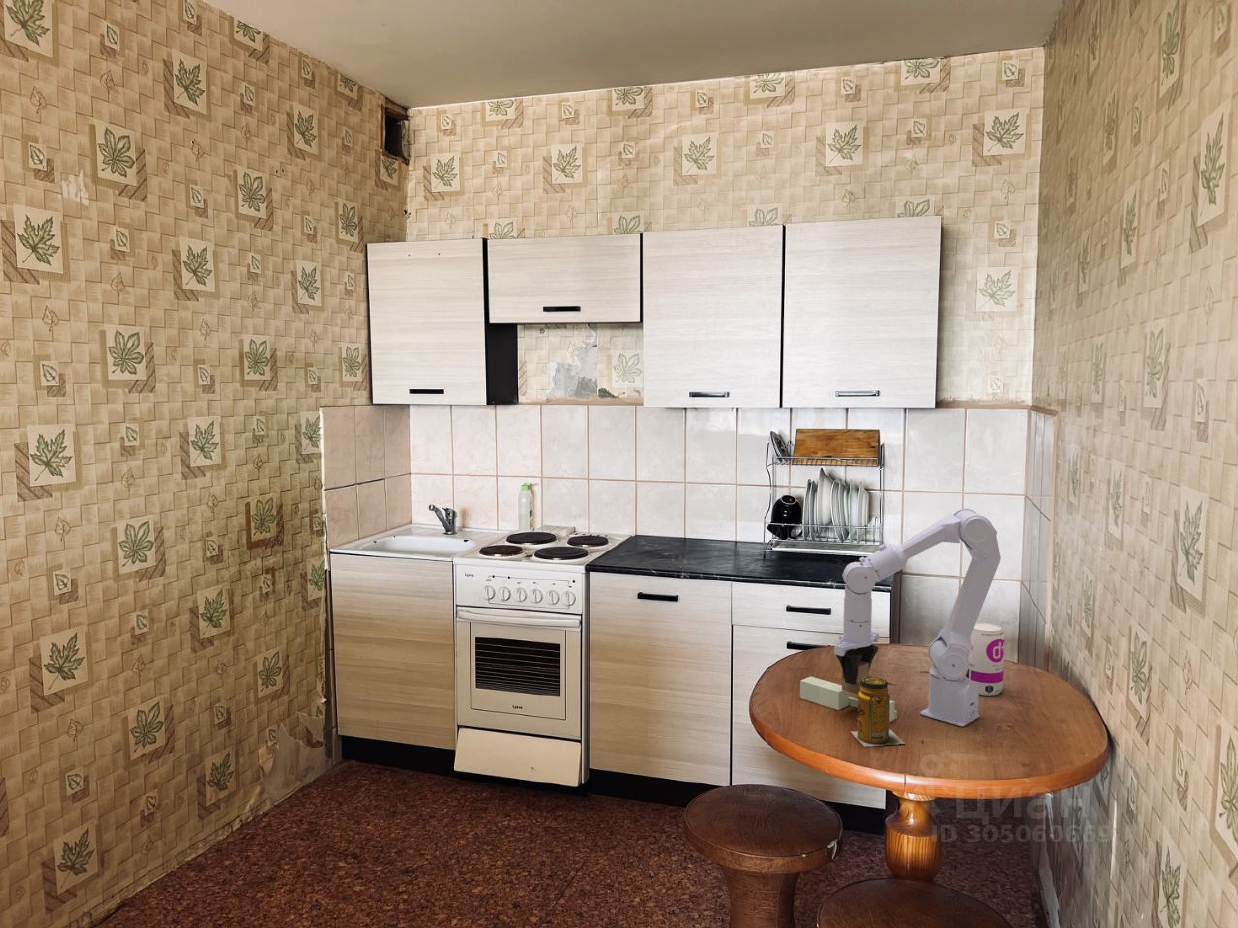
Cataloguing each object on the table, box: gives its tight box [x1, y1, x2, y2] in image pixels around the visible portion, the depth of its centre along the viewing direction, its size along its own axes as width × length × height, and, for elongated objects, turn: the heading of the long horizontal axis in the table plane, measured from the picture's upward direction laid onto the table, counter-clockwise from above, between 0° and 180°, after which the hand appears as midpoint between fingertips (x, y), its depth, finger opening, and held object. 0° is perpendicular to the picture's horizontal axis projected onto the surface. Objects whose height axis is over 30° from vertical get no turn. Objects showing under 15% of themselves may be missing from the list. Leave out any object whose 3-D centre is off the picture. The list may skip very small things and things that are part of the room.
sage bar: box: [799, 675, 898, 723], centre depth 188 cm, size 21×5×4 cm, turn 43°
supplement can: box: [966, 621, 1006, 697], centre depth 197 cm, size 8×8×15 cm
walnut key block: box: [841, 661, 870, 696], centre depth 185 cm, size 4×4×6 cm
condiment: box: [850, 676, 906, 747], centre depth 171 cm, size 7×8×12 cm
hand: (856, 680), depth 185 cm, fingers closed on walnut key block, 4 cm apart
